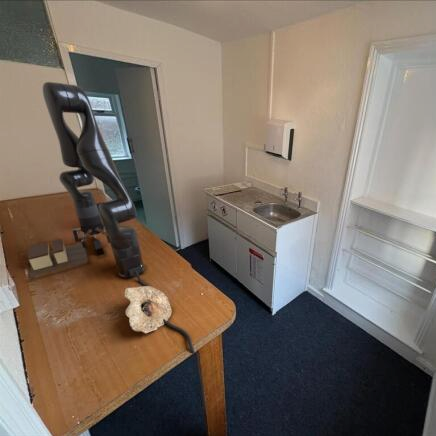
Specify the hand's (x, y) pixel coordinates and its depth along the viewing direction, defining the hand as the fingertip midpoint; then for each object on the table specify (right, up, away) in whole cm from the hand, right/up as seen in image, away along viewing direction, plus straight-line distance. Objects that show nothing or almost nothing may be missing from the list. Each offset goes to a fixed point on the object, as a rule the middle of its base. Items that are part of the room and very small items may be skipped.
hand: (98, 244), depth 110 cm
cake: (-17, -6, -9) cm, 20 cm away
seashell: (+43, -22, -29) cm, 56 cm away
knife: (-4, -2, +5) cm, 7 cm away
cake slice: (-12, -5, -5) cm, 14 cm away
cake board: (-12, -6, -6) cm, 15 cm away
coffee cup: (-12, +7, +23) cm, 27 cm away
